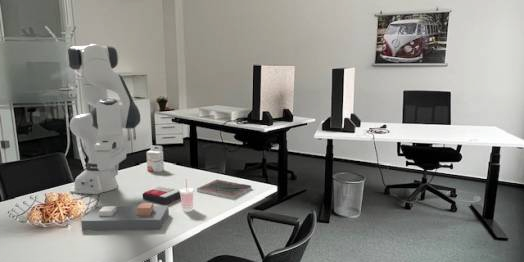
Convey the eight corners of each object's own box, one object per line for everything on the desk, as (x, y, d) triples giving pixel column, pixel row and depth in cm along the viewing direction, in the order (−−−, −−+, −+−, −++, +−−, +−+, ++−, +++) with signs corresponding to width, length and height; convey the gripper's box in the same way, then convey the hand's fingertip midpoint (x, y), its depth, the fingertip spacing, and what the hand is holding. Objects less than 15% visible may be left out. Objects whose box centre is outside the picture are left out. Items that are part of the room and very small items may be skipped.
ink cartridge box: (147, 171, 219) (145, 146, 216) (151, 168, 224) (149, 145, 221) (160, 172, 217) (158, 147, 214) (164, 169, 222) (163, 145, 219)
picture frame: (251, 190, 188) (216, 183, 199) (251, 185, 188) (216, 179, 198) (232, 200, 174) (196, 192, 185) (232, 195, 174) (196, 188, 184)
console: (82, 230, 143) (81, 220, 142) (97, 215, 156) (96, 206, 156) (160, 229, 143) (160, 219, 143) (168, 214, 157) (168, 205, 156)
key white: (99, 220, 147) (98, 211, 146) (104, 215, 152) (103, 206, 151) (112, 220, 147) (111, 211, 146) (116, 215, 152) (116, 206, 151)
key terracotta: (137, 217, 147) (137, 208, 146) (141, 212, 152) (140, 203, 151) (150, 217, 147) (149, 207, 146) (153, 212, 152) (153, 203, 151)
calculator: (159, 185, 184) (182, 189, 176) (159, 194, 184) (182, 198, 177) (141, 192, 174) (165, 196, 167) (142, 201, 175) (166, 205, 168)
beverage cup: (196, 210, 161) (195, 179, 159) (183, 213, 158) (181, 182, 155) (191, 206, 166) (190, 175, 164) (178, 208, 163) (176, 178, 160)
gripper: (113, 136, 153) (116, 168, 156) (91, 147, 133) (95, 184, 136) (128, 136, 153) (131, 168, 156) (109, 146, 133) (112, 183, 136)
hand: (114, 175), depth 146 cm, fingers closed
